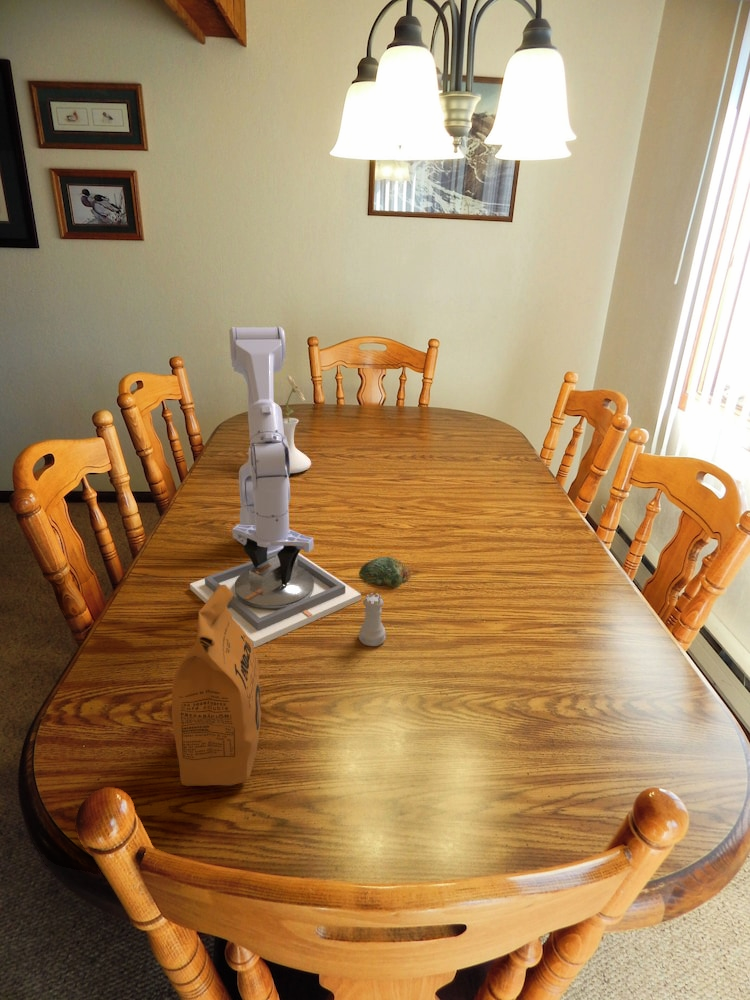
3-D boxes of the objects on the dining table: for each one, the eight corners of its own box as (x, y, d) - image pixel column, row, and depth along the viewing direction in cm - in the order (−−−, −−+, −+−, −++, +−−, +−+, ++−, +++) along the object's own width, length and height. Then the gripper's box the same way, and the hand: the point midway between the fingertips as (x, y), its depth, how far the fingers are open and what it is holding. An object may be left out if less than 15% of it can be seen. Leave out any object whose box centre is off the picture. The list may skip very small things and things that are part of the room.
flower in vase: (308, 477, 164) (307, 384, 154) (265, 476, 165) (261, 382, 154) (314, 460, 176) (313, 372, 166) (274, 459, 176) (270, 371, 166)
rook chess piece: (370, 627, 104) (371, 586, 101) (391, 638, 102) (393, 596, 98) (352, 639, 101) (353, 597, 98) (374, 651, 98) (375, 608, 95)
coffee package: (273, 719, 84) (266, 579, 76) (251, 796, 73) (240, 641, 64) (200, 714, 85) (185, 574, 76) (168, 790, 73) (145, 636, 65)
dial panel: (190, 589, 113) (189, 576, 112) (291, 553, 127) (291, 541, 126) (254, 647, 98) (253, 633, 97) (360, 599, 112) (361, 586, 111)
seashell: (402, 541, 124) (418, 567, 115) (402, 559, 126) (418, 585, 117) (353, 550, 122) (366, 576, 113) (354, 568, 124) (367, 595, 115)
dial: (218, 591, 110) (216, 565, 108) (273, 560, 121) (272, 536, 119) (276, 619, 103) (275, 592, 101) (329, 583, 114) (329, 558, 112)
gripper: (221, 512, 104) (226, 582, 110) (301, 526, 100) (302, 598, 106) (242, 497, 110) (246, 563, 116) (318, 509, 106) (318, 578, 112)
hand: (274, 579), depth 111 cm, fingers closed on dial, 4 cm apart
